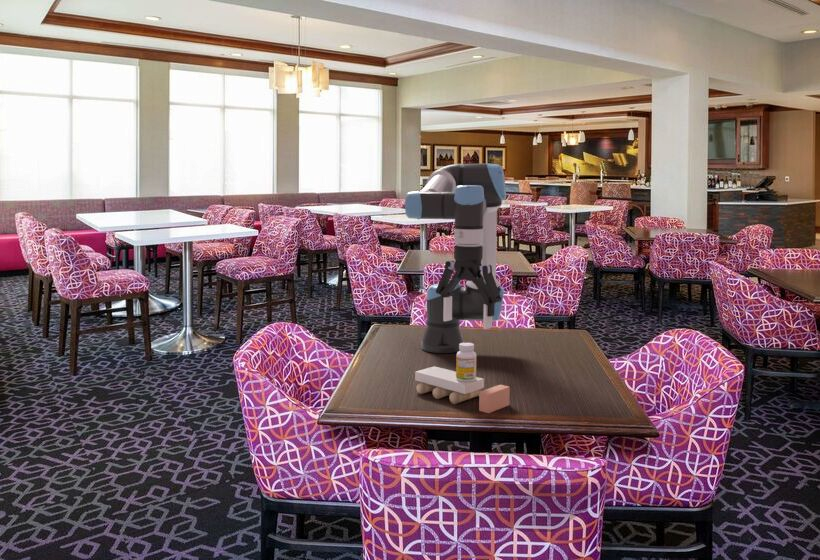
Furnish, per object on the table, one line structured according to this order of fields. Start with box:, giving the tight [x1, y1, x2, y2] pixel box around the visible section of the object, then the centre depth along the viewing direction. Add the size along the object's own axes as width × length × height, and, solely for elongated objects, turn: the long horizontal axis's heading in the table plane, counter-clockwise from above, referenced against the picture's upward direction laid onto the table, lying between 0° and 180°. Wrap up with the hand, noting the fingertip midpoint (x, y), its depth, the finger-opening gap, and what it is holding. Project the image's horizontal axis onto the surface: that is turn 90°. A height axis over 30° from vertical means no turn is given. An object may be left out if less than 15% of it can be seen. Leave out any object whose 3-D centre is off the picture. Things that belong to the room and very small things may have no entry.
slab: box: [414, 366, 485, 394], centre depth 187 cm, size 18×8×2 cm, turn 46°
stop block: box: [478, 384, 511, 414], centre depth 177 cm, size 3×9×5 cm, turn 137°
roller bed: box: [416, 382, 482, 405], centre depth 188 cm, size 15×10×3 cm, turn 46°
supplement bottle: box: [455, 342, 477, 382], centre depth 183 cm, size 5×5×10 cm
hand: (467, 324), depth 181 cm, fingers open, 13 cm apart
